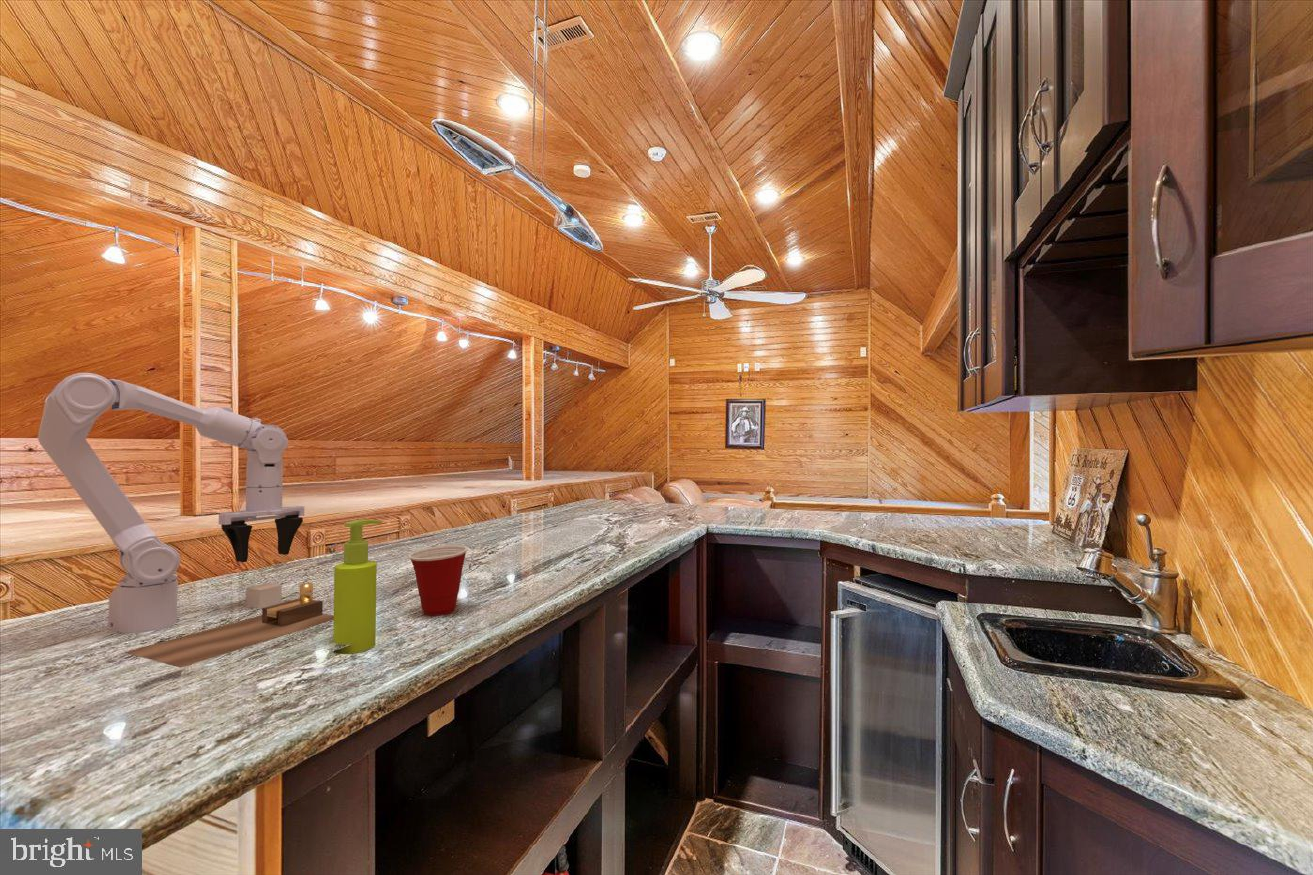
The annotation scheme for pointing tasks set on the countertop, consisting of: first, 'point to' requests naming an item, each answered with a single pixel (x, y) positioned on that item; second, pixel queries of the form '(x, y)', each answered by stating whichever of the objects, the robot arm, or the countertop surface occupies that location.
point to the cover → (263, 595)
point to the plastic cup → (438, 577)
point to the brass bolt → (305, 597)
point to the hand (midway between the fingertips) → (263, 557)
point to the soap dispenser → (355, 594)
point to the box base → (235, 635)
